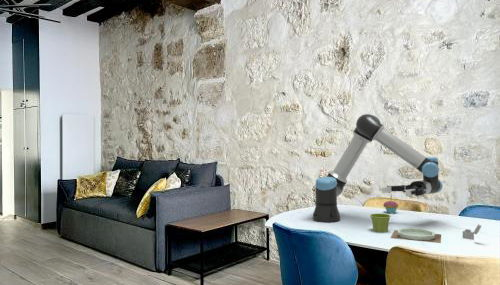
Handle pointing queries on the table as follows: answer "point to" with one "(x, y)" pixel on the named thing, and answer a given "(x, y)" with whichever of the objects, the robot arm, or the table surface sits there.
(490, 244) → the table surface
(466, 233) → the lighter
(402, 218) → the table surface
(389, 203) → the cupcake
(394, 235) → the walnut board
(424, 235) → the saucer
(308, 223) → the table surface
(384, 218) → the plant pot
